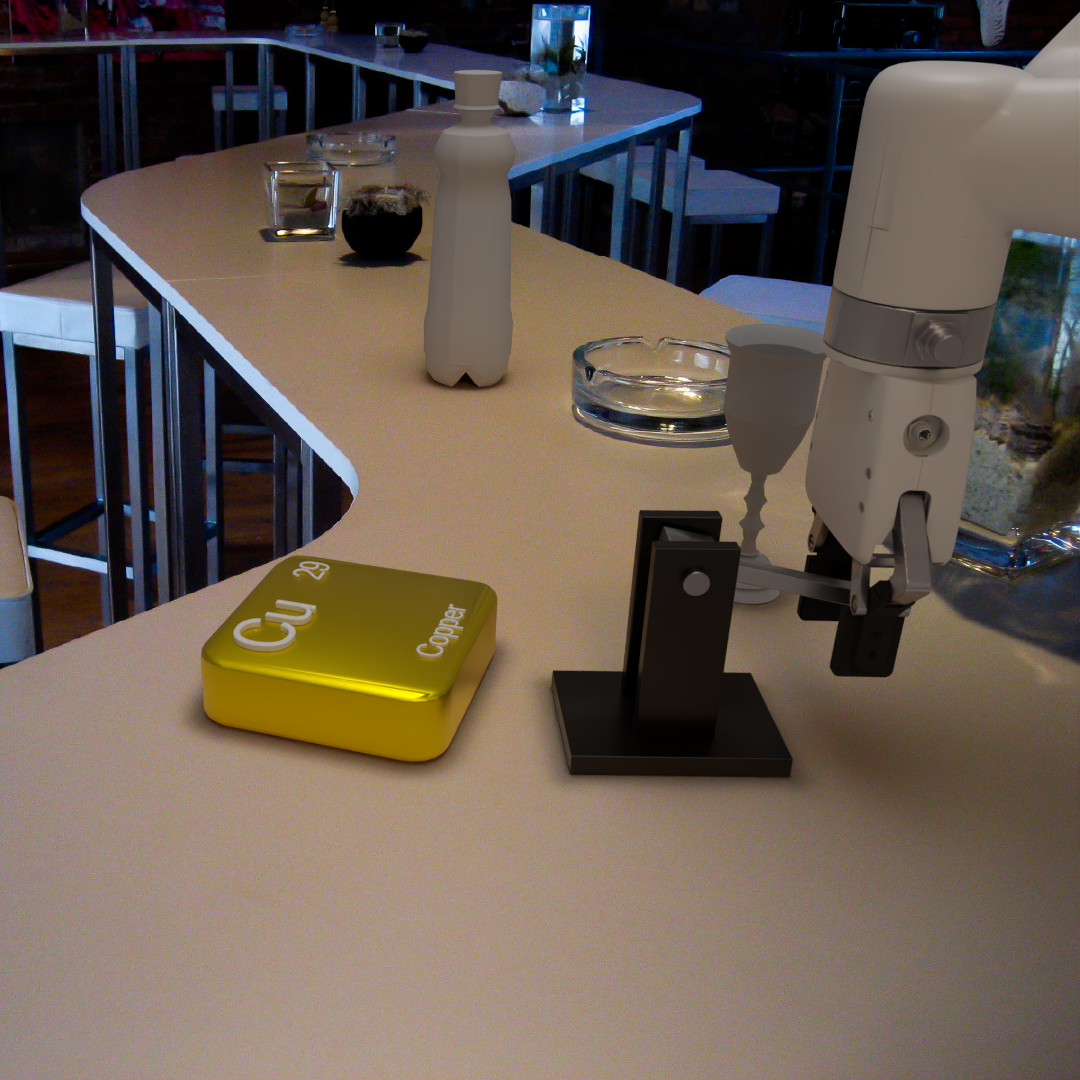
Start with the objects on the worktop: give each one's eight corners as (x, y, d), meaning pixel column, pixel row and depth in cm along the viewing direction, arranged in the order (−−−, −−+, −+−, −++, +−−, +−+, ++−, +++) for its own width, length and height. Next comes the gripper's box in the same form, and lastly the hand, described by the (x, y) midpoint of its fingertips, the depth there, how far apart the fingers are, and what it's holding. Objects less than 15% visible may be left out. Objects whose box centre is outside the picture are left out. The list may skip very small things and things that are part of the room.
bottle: (510, 392, 127) (527, 77, 115) (420, 389, 128) (426, 76, 115) (509, 365, 136) (525, 68, 123) (425, 362, 136) (432, 67, 124)
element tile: (439, 771, 69) (441, 697, 67) (191, 722, 74) (186, 651, 72) (501, 641, 82) (505, 576, 80) (287, 606, 87) (285, 543, 84)
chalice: (800, 615, 85) (844, 358, 78) (697, 607, 86) (730, 353, 79) (784, 567, 92) (824, 326, 84) (689, 560, 93) (719, 321, 85)
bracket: (748, 689, 77) (778, 496, 71) (790, 777, 69) (827, 567, 63) (551, 686, 77) (565, 494, 72) (569, 774, 69) (587, 565, 64)
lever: (848, 594, 72) (864, 558, 71) (880, 640, 67) (898, 601, 66) (644, 552, 71) (657, 514, 70) (662, 595, 66) (676, 555, 65)
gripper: (1064, 385, 55) (973, 734, 63) (917, 286, 70) (858, 577, 78) (890, 382, 55) (820, 731, 63) (781, 284, 70) (736, 574, 78)
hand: (842, 642), depth 70 cm, fingers closed on lever, 5 cm apart
